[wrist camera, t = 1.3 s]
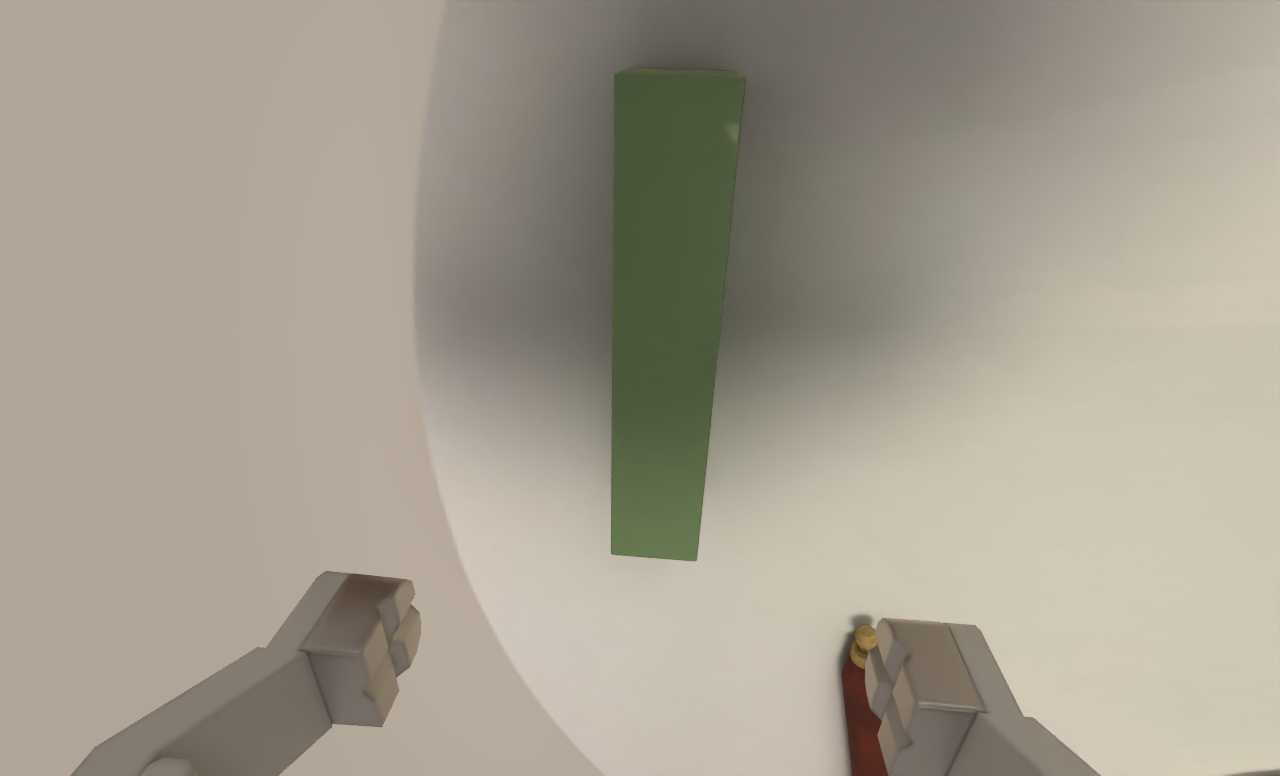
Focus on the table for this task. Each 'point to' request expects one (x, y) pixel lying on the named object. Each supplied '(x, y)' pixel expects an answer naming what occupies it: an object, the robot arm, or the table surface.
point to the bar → (668, 296)
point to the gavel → (861, 709)
